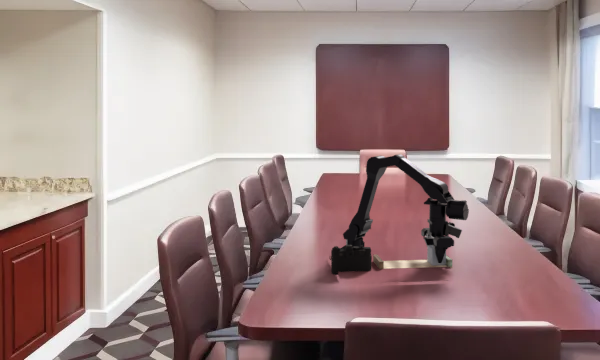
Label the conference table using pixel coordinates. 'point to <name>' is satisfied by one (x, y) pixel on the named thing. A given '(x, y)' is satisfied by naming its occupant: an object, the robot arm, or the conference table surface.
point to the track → (407, 263)
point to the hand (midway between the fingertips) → (436, 260)
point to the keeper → (434, 256)
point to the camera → (350, 259)
